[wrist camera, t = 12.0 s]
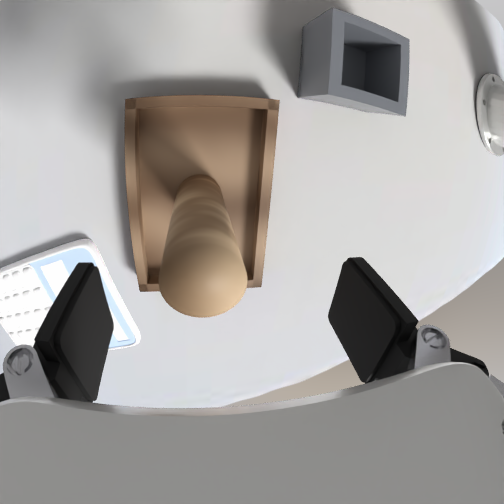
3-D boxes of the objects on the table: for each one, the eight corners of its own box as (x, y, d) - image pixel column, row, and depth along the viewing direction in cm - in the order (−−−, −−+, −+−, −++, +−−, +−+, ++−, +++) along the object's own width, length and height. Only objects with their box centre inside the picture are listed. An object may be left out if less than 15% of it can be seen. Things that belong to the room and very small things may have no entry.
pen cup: (370, 47, 17) (409, 39, 13) (366, 112, 21) (405, 116, 16) (302, 26, 16) (332, 7, 11) (297, 97, 19) (328, 94, 14)
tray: (131, 100, 17) (125, 99, 15) (272, 101, 19) (279, 100, 17) (142, 279, 24) (139, 291, 22) (256, 275, 26) (261, 287, 25)
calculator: (-20, 274, 20) (-27, 283, 18) (94, 232, 22) (87, 241, 20) (30, 351, 26) (26, 361, 25) (144, 335, 28) (143, 347, 27)
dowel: (222, 174, 21) (250, 242, 10) (220, 216, 22) (245, 315, 12) (176, 174, 20) (153, 244, 10) (177, 217, 22) (164, 318, 11)
